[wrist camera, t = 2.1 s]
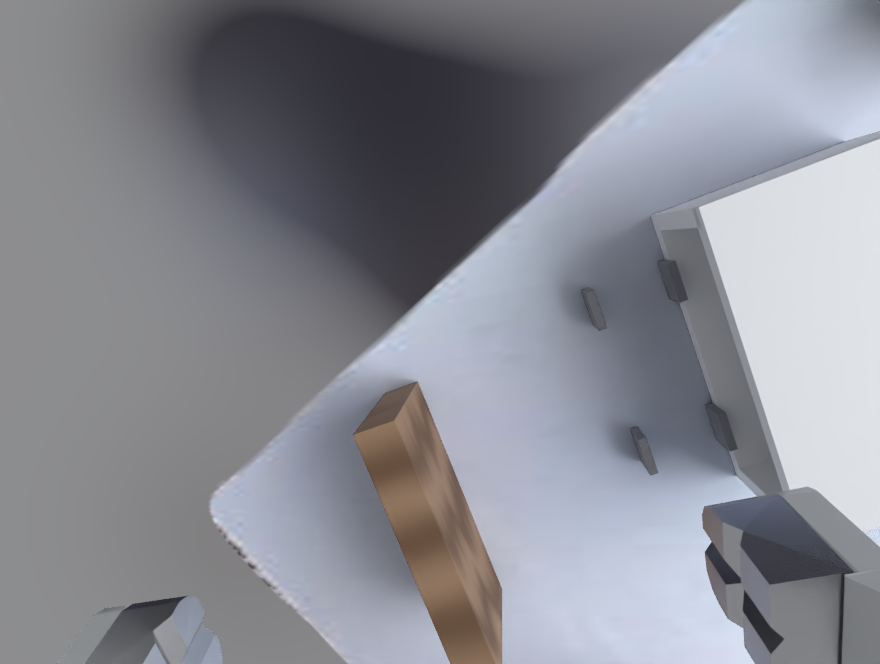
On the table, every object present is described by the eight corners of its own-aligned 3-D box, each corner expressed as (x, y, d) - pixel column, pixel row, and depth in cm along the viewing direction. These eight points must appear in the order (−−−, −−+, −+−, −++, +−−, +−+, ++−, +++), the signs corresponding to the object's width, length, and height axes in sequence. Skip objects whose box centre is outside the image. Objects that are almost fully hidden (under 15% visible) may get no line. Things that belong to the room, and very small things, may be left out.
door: (501, 588, 47) (502, 680, 37) (461, 599, 47) (451, 693, 37) (417, 381, 44) (394, 420, 35) (376, 395, 45) (342, 438, 35)
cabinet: (924, 421, 40) (1061, 479, 30) (655, 500, 44) (700, 575, 34) (845, 141, 38) (966, 105, 28) (565, 247, 41) (586, 249, 31)
